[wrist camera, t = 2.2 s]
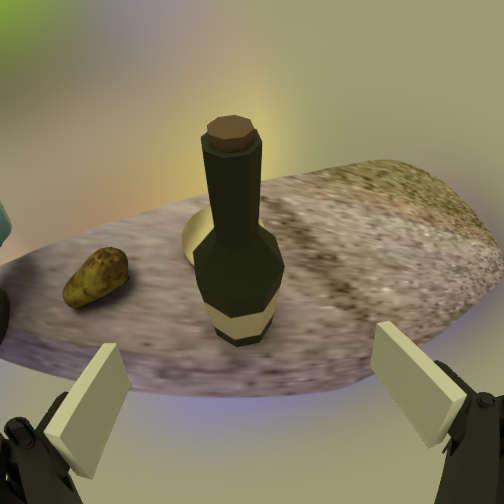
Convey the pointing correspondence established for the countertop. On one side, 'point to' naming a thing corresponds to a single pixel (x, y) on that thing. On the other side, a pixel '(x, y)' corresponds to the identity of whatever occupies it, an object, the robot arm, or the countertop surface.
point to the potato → (97, 277)
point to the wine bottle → (237, 236)
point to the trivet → (198, 231)
